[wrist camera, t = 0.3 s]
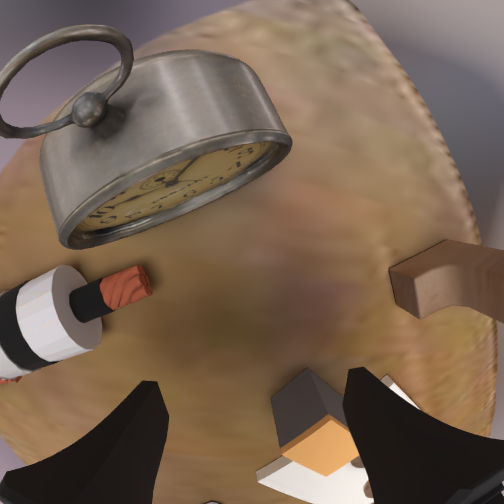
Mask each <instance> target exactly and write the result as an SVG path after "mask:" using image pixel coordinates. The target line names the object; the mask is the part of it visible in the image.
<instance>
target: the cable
mask: <svg viewBox="0 0 504 504" xmlns="http://www.w3.org/2000/svg"><path fill="white" fill-rule="evenodd" d="M149 285H150V281H149V278H148V276H147V275H145V270H144V269H143V267H142V266H139V265H136V266H132V267H130V268H128V269H125V270H122V271H120V272H117V273H116V274H113V275H110V276H107V277H106V278H101V279H98V280H96V281H93V282H91V283H89V284H87V282H86V280H85V279H84V278H83V276H82V275H81V274H80V273H79V272H78V271H77V270H75V269H74V268H73V267H72V266H68V265H60V266H58V267H56V268H54V269H52V270H50V271H49V272H47V273H45V274H43V275H41V276H39V277H37V278H35V279H33V280H31V281H26V282H24V283H22V284H20V285H19V286H17V287H15V288H13V289H11V290H6V291H4V292H3V293H1V294H0V384H4V383H8V382H12V381H15V382H16V383H17V382H18V381H19V380H20V378H21V377H22V376H23V375H24V374H28V373H31V372H34V371H36V370H39V369H41V368H42V367H45V366H48V365H51V364H54V363H57V362H59V361H62V360H63V359H66V358H69V357H72V356H75V355H79V354H82V353H85V352H88V351H91V350H94V349H95V348H96V347H97V346H98V345H99V344H100V342H101V337H102V322H101V316H104V315H106V314H109V313H111V312H113V311H115V310H116V309H117V308H118V307H123V306H126V305H127V304H128V303H134V302H137V301H139V300H140V299H142V298H144V297H147V296H150V295H152V291H151V288H150V286H149Z"/></svg>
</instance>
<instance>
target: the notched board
mask: <svg viewBox="0 0 504 504" xmlns="http://www.w3.org/2000/svg"><path fill="white" fill-rule="evenodd" d="M380 381H381V382H383V383H384V384H385V385H386V386H388V387H389V388H390V389H391V390H393V391H394V392H395V393H397V394H398V395H399V396H401V397H402V398H403V399H405V400H406V401H407V402H409V403H410V404H412V405H413V406H415V407H416V408H418V407H417V405H416V404H415V403H414V402H413V401H412V400H411V399H410V398H409V397H408V396H407V395H406V394H405V393H404V392H403V391H402V390H401V389H400V388H399V387H398V386H397V385H396V384H395V383H394V382H393V381H392V380H391V379H390V377H389V376H388V375H386V376H385V377H383V378H382V379H381V380H380ZM418 409H419V408H418ZM256 473H257V482H259V483H261V484H263V485H266V486H268V487H270V488H273V489H275V490H278V491H280V492H283V493H285V494H288V495H290V496H293V497H296V498H298V499H301V500H304V501H307V502H310V503H313V504H371V503H373V502H374V500H373V498H368V497H366V496H365V494H364V491H363V487H364V485H365V483H366V482H367V481H368V480H369V479H368V476H367V473H366V470H365V468H356V467H354V466H352V464H351V462H349V463H347V464H346V465H344V466H343V467H341V468H340V469H338V470H337V471H335V472H333V473H332V474H330V475H329V476H327V477H326V476H323V475H321V474H319V473H317V472H315V471H313V470H310V469H308V468H306V467H304V466H302V465H300V464H298V463H296V462H294V461H292V460H290V459H288V458H287V457H285V456H281V457H280V458H278V459H277V460H275V461H273V462H272V463H270V464H268V465H267V466H265V467H263V468H261V469H260V470H258V471H256Z"/></svg>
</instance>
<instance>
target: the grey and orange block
mask: <svg viewBox="0 0 504 504" xmlns="http://www.w3.org/2000/svg"><path fill="white" fill-rule="evenodd" d="M343 399H344V397H343V396H342V395H340V394H339V393H338V392H337V391H335V390H334V389H333V388H332V387H330V386H329V385H328V384H327V383H326V382H324V381H323V380H322V379H321V378H320V377H318V376H317V375H316V374H315V373H314V372H312V371H311V370H310V369H309V368H307V369H305V370H304V371H303V372H302V373H301V374H300V375H298V376H297V377H296V378H295V379H294V380H292V381H291V382H290V383H289V384H288V385H286V386H285V387H284V388H283V389H281V390H280V391H279V392H278V393H276V394H275V395H274V396H273V397H271V403H272V408H273V414H274V419H275V424H276V430H277V435H278V440H279V446H280V451H281V455H283V456H285V457H287V458H288V459H290V460H292V461H294V462H296V463H298V464H300V465H302V466H304V467H306V468H308V469H310V470H313V471H315V472H317V473H319V474H321V475H323V476H326V477H327V476H329V475H330V474H332V473H333V472H335V471H337V470H338V469H340V468H341V467H343V466H344V465H346V464H347V463H349V462H350V461H351V460H353V459H354V458H356V457H357V456H359V453H358V450H357V448H356V446H355V443H354V441H353V438H352V436H351V434H350V431H349V429H348V426H347V422H346V419H345V415H344V411H343V407H342V404H343Z"/></svg>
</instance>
